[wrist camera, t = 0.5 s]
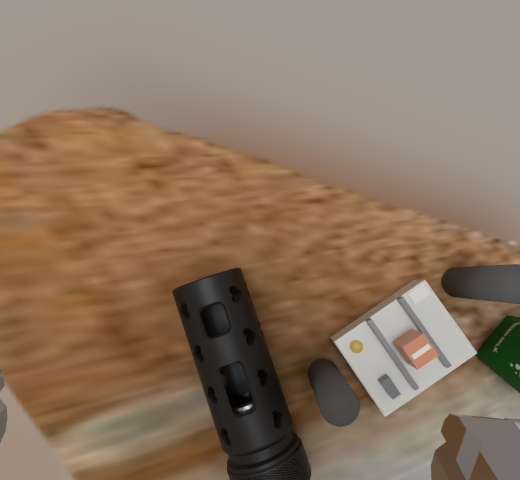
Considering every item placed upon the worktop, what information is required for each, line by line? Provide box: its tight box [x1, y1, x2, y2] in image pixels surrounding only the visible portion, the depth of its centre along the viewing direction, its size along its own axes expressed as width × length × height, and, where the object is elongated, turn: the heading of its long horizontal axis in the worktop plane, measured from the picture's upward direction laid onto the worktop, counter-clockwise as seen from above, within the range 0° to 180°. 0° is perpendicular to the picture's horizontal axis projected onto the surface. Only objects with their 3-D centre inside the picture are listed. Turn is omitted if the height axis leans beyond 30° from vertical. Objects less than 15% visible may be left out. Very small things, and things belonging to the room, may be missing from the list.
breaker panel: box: [330, 280, 477, 417], centre depth 53 cm, size 11×14×6 cm
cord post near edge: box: [442, 264, 520, 304], centre depth 49 cm, size 4×4×14 cm
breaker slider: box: [393, 329, 439, 370], centre depth 49 cm, size 3×3×4 cm
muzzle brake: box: [173, 268, 311, 480], centre depth 51 cm, size 10×28×10 cm, turn 19°
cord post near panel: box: [308, 359, 360, 427], centre depth 49 cm, size 4×4×14 cm
